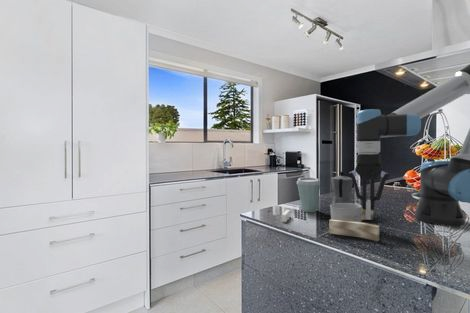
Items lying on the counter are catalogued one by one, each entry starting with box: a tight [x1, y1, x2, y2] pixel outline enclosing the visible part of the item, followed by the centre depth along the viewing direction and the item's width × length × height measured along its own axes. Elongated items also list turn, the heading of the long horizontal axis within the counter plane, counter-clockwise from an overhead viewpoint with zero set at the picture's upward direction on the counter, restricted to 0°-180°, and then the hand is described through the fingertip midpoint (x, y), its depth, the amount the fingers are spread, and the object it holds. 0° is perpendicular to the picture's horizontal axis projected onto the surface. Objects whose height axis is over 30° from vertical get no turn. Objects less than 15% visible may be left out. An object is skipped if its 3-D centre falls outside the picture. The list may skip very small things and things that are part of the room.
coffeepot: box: [330, 171, 354, 204], centre depth 114 cm, size 15×9×18 cm, turn 153°
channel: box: [328, 208, 380, 242], centre depth 93 cm, size 15×26×4 cm, turn 155°
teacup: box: [329, 202, 363, 222], centre depth 94 cm, size 14×11×8 cm
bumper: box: [281, 209, 291, 223], centre depth 103 cm, size 2×8×3 cm, turn 155°
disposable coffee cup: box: [296, 176, 321, 213], centre depth 116 cm, size 11×11×15 cm
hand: (368, 218), depth 91 cm, fingers closed
